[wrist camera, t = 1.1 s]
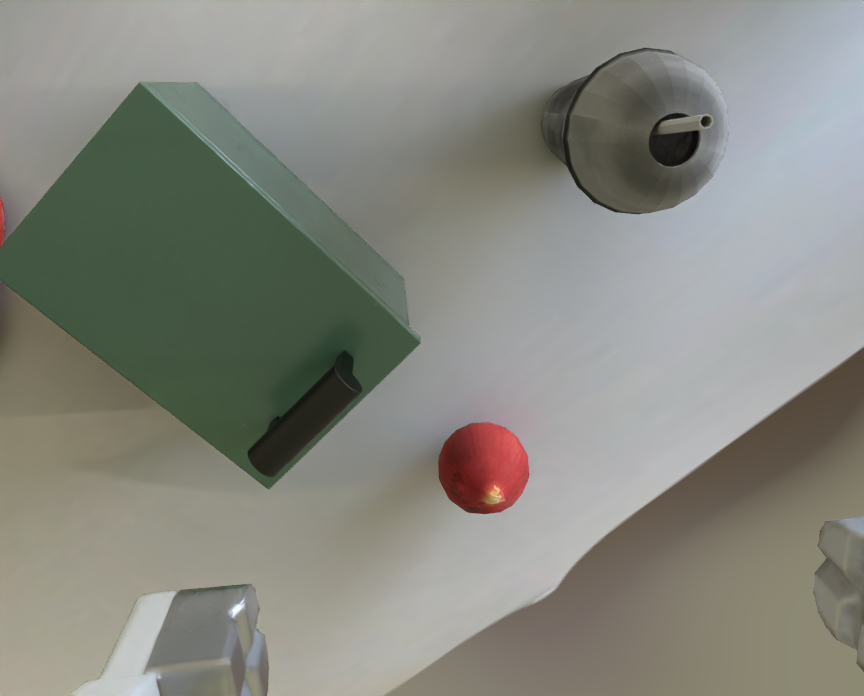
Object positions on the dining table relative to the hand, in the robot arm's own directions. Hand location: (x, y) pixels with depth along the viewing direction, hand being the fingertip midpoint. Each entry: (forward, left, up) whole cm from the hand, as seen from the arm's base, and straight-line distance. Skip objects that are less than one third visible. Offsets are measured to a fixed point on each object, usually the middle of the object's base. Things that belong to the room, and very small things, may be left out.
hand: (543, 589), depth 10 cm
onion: (+9, +14, -37) cm, 41 cm away
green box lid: (+10, -5, -27) cm, 29 cm away
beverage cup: (-10, +3, -37) cm, 39 cm away
